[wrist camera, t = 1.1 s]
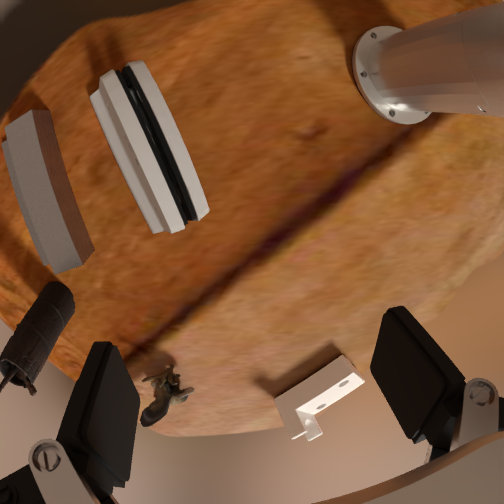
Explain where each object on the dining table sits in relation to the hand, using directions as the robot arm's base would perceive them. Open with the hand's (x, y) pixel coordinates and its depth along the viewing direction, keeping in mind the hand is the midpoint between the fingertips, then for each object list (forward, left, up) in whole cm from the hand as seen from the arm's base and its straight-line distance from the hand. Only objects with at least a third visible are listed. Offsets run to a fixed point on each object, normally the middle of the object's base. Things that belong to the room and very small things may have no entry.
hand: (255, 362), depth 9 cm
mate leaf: (+19, -8, -23) cm, 31 cm away
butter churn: (+23, +6, -23) cm, 33 cm away
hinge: (+5, -8, -23) cm, 25 cm away
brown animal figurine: (+15, +23, -23) cm, 36 cm away
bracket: (-7, +33, -23) cm, 41 cm away
